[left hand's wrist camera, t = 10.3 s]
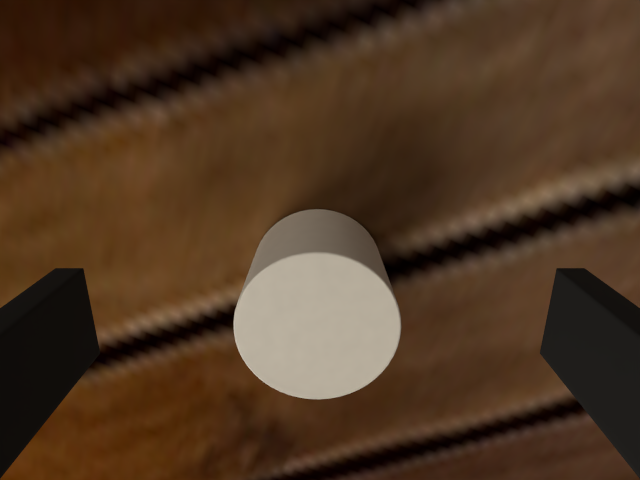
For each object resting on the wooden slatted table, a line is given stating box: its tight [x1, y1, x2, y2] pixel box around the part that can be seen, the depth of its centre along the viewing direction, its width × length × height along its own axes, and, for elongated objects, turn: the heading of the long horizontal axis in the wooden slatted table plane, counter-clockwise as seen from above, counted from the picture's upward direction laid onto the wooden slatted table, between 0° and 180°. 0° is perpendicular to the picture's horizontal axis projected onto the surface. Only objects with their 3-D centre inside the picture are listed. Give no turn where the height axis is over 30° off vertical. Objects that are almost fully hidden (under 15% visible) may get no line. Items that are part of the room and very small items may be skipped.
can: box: [234, 209, 401, 399], centre depth 14 cm, size 5×5×4 cm
